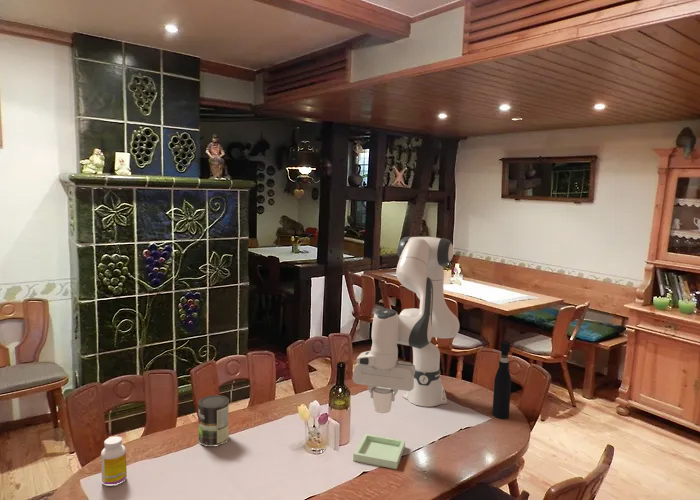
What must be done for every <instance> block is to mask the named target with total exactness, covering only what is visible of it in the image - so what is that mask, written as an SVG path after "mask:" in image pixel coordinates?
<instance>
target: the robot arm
mask: <svg viewBox="0 0 700 500" xmlns="http://www.w3.org/2000/svg"><path fill="white" fill-rule="evenodd" d="M453 245H454V244H453V243H452V242H451V240H450V239H447V238H444V237H441V238H440V237H434V236H404V237H402V238H401V239H400V240H399V242H398V245H397V256H398V258H399V259H398V262H397V266H396V272H395V274H396V279H397V281H398V282H399V283H400V284H401V285H402V286H403V287H404V288H406V289H408V290H409V291H411V292H413V293H415V294H416V297H417V298H418V300H419V308H413V307H411V308H404V309H403V310H401V312H400V313H399V314H398V312H397V311H396V310H394V309H392V308H380V309H377V310H376V311H375V312H374V313H373V314H374V315H373V318H372V325H371V340H372V344H371V348H370V350H368V351H363V352H361V353H360V354H359V355H358V356H357V358H356V364H355V365H354V369H353V373H352V382H353V383H354V384H356V385H363V386H367V390H368V392H369V393H370V398H371V399H373V388H374V387H375V386H376V387H383V388H390V389H393V395H392V398H391V401H392V403H393V402H395V399H396V395H397V393H398V391H405V392H404V393H402V398H404V399H406V400H408V402H410V403H411V404H413V405H416V406H419V407H426V408H427V407H435V406H436V407H437V406H439V405H445V404H448V399H447V394H446V390H445V387H443V386H444V385H443V384H444V383H442V379H441V367H440V361H441V360H440V359H441V352H440V350H439V348H438V347H437V345H435V344H433V343H432V342H431V341H432V338H436V339H443V340H445V339H454V338H455V337H456V336H457V335H458V333H459V332H460V325H461V324H460V321H459V318H458V317H457V316H456V315H455V314H454V313H453V312H452V310H450V308H449V307H448V305H447V302H446V300H445V294H444V279H445V278H444V277H445V276H444V274H445V273H444V272H445V271H444V270H445V269H444V267H445V266H446V265H449V264H450V263H451V261H452V260H453V256H454V253H455V252H454V251H455V250H454V246H453ZM398 345H402V346H408V347H409V346H410V347H412V362H411V361H403V360H399V359H398V358H399V357H398V356H399V355H398V354H399V348H398Z"/></svg>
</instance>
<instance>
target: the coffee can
mask: <svg viewBox="0 0 700 500" xmlns="http://www.w3.org/2000/svg"><path fill="white" fill-rule="evenodd" d="M229 402H230V399H229V397H227V396H225V395H219V394H218V395H217V394H213V395H212V394H211V395H207V396H203V397H202V398H200V399H199V400H198V402H197V405H198V406H197V407H198V443H199V445H201V444H203V445H207V446H214V445H220V444H222V445H224V444H226V443H227V442H228V441H229V439H228V438H229V412H230V410H229V405H230V404H229ZM227 440H228V441H227ZM226 441H227V442H226ZM225 442H226V443H225ZM223 443H224V444H223ZM220 446H221V445H220Z"/></svg>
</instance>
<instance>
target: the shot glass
mask: <svg viewBox="0 0 700 500" xmlns="http://www.w3.org/2000/svg"><path fill="white" fill-rule="evenodd" d="M372 389H373V398H372V401H373V402H372V403H373V404H372V405H373V410H374V411H375V412H376V413H379V414H388V413H389V412H391V410H392V403H393V401H391V398H392V395H393V394H394V392H393V389H390V388H383V387H376V386H373V387H372Z"/></svg>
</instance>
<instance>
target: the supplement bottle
mask: <svg viewBox="0 0 700 500" xmlns="http://www.w3.org/2000/svg"><path fill="white" fill-rule="evenodd" d="M103 443H104V444H103V445H104V448H103V449H102V450H101V453H100V460H101V461H100V465H101V469H100V470H101V483H102V482H103V483H104V484H117V483H120V482H122V481H124V480H125V479H126V480H127V478H126V477H128V476H127V473H128V472H127V449H126V446H125V445H123V438H122V437H121V436H110V437H108V438H106V439H105V440H104V442H103ZM126 480H125V481H126ZM125 481H124V482H125Z"/></svg>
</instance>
